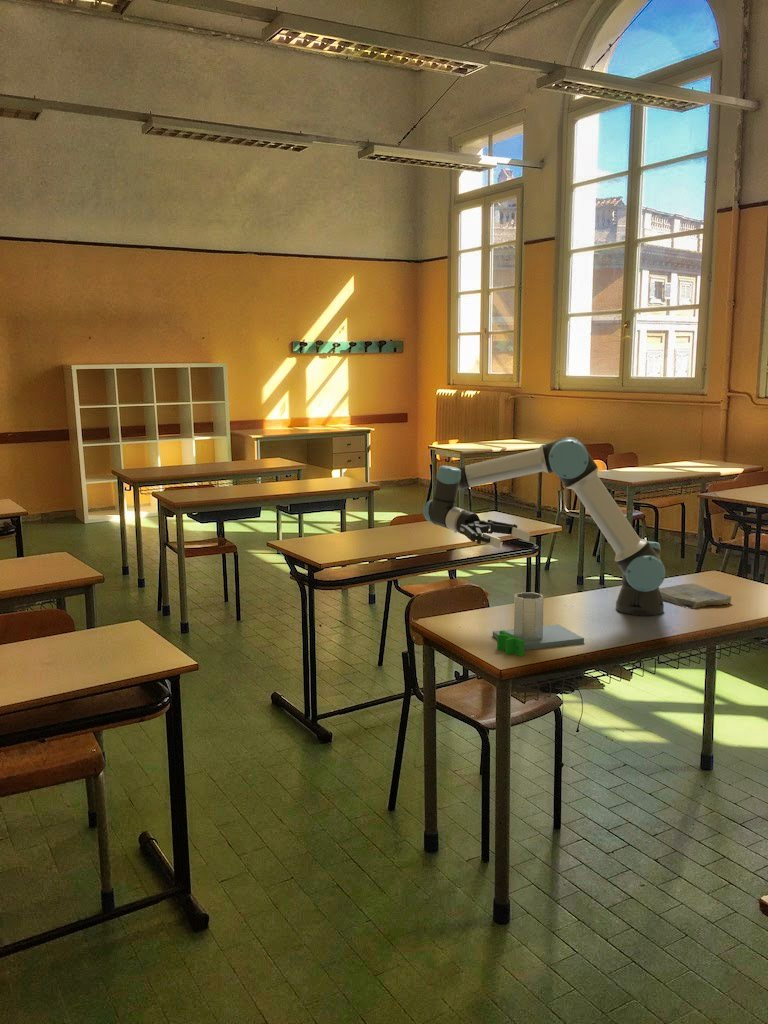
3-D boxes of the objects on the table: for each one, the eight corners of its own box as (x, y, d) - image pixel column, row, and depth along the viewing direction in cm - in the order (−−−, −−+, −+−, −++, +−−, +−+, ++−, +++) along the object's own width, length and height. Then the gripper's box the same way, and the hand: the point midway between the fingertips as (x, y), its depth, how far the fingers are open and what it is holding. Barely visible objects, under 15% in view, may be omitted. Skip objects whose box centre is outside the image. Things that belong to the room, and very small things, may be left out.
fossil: (696, 614, 282) (734, 605, 289) (695, 601, 281) (734, 592, 288) (653, 602, 300) (691, 593, 307) (653, 589, 299) (690, 581, 306)
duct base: (558, 629, 262) (558, 603, 261) (584, 643, 248) (584, 616, 247) (492, 636, 256) (492, 610, 254) (515, 651, 242) (515, 623, 240)
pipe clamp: (491, 647, 246) (491, 631, 245) (502, 645, 248) (502, 630, 247) (512, 658, 236) (512, 642, 235) (524, 656, 238) (524, 640, 237)
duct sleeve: (527, 630, 257) (528, 591, 255) (548, 636, 250) (549, 596, 248) (508, 635, 252) (508, 595, 250) (529, 641, 245) (529, 600, 243)
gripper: (488, 528, 281) (539, 546, 266) (434, 538, 265) (485, 558, 250) (490, 506, 279) (542, 523, 264) (436, 515, 263) (488, 533, 248)
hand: (514, 540), depth 257 cm, fingers open, 13 cm apart
